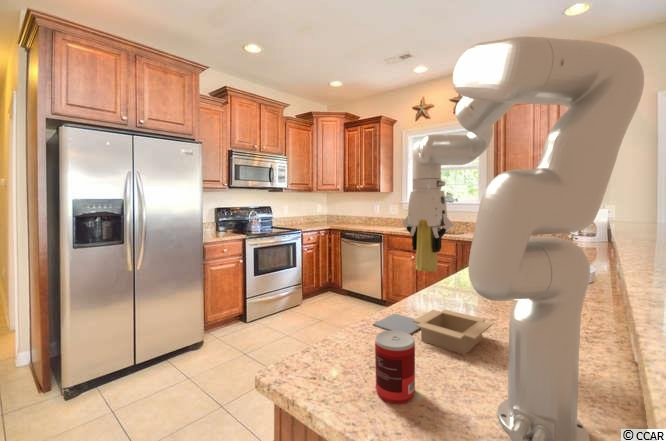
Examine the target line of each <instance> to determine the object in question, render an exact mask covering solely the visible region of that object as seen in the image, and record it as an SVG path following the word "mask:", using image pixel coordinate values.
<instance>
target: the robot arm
mask: <svg viewBox="0 0 666 441" xmlns="http://www.w3.org/2000/svg"><path fill="white" fill-rule="evenodd" d="M451 81H452V86H453V89H454V90H455V92H456V93H457V95H459V96H461V98H460V100H459V101H458V102H457V104H456V106H455V116H456V117H455V118H456V119H457V122H458V123H459V125H461V126H462V128H464V130H466V131H468V132H466V134H427V135H426V136H424V137H423V138H422V139H421V140H419V141H416V142H415V143H414V144H413V146H412V191H410V194H409V199H408V207H407V216H406V217H405V218H404V220H403V221H402V225H403V227H404V228H406V230H407V232H409V234H410V237H411V245H412V250H413V251H417V226H418V225H419V220H427V226H429V227H432V230H433V233H434V236H435V238H433V252H434V253H436V252H437V253H440V252H441V249H442V238H443V237H444V235H445V234H446V233H448V231H450V230H451V229H452V228H453V227H454V224H453V223H452V221H451V220H450V219H449V217H448V210H447V208H448V207H447V201H446V194H445V191H444V190H442V188H443V187H445V185H446V181H445V180H442V166H464V165H465V166H466V165H468V164H470V163H472V162H474V161H475V160H476V159H477V158H478V157H480V156H481V155H482V154H484V153H485V152H486V150H487V149H488V148H489V146H490V144H491V142H492V139H493V136H494V125H495V124H496V123H497V121H499V120H500V119H501V118H502V117H503V116H504V115H505V114H507V112H509V110H511V109H512V108H513V107H514V106H516V105H517V104H518V105H520V104H522V105H525V104H526V105H541V106H547V105H553V106H558V105H559V106H564V107H567V109H568V110H566V111H565V112H564V113H563V114H562V115H561V116H560V117H559V118H558V119H557V120H556V122H555V123H554V124H553V126H552V127H551V129H550V131H549V132H548V134H547V136H546V138H545V141H544V144H543V148H542V151H541V156H540V158H539V162H538V163H537V164H538V165H537V167H535V168H518V169H517V168H515V169H509V170H506V171H503V172H501V173H499V174H498V175H496V176H494V178H492V179H491V180H490V182H489V183H487V186H486V188H485V189H484V191H483V193H482V196H481V198H480V203H479V206H478V210H477V216H476V222H475V227H474V232H473V236H472V242H471V245H470V246H471V247H470V251H469V258H468V267H467V268H468V277H469V281H470V283H471V286H472V287H473V289H474V291H475V292H476V293H477V294H478V295H479V296H480V297H482V298H484V299H487V300H490V301H494V302H510V301H511V302H513V301H514V303H513V305H512V307H511V311H510V314H509V320H508V322H509V323H508V325H509V326H508V365H507V366H508V370H507V371H508V373H507V374H508V375H507V376H508V378H507V381H508V382H507V399H504V400H503V401H502V402H501V403H500V404H499V405H498V407H497V418H498V422H499V423H500V425H501V427H502V428H503V430H505V432H506V433H507V434H508V437H509V439H510V440H511V441H590V434H589V431H588V430H587V428H586V427H585V426H584V424H583V423H581V421H580V420H578V404H579V403H578V401H579V399H578V398H579V397H578V396H579V371H580V370H579V368H580V367H579V366H580V364H579V362H580V360H579V359H580V343H581V321H582V311H583V307H584V301H585V298H586V294H587V291H588V287H589V283H590V280H591V279H590V277H591V266H590V265H591V264H590V262H589V259H588V257H587V255H586V253H585V252H584V251H583V249H582V248H581V247H580V246H579V245H577V244H576V243H575V242H573V241H571V240H569V239H566V238H563V237H558V236H538V235H558V234H559V235H560V234H569V233H570V234H571V233H575V232H576V233H577V232H581V231H584V230H586V228H588V227H590V226H591V225H592V224H593V223H594V221H595V220H596V218H597V215H598V214H599V211H600V209H601V205H602V203H603V200H604V198H605V194H606V192H607V191H606V190H607V188H608V185H609V183H610V180H611V177H612V173H613V171H614V168H615V165H616V163H617V159H618V156H619V151H620V148H621V145H622V142H623V140H624V138H625V135H626V133H627V130H628V129H629V125H630V124H631V122H632V120H633V117H634V116H635V114H636V111H637V109H638V106H639V104H640V102H641V99H642V96H643V92H644V87H645V73H644V69H643V66H642V64H641V63H640V61H639V59H638V58H637V57H636V56H635V55H634V54H632V53H631V52H630V51H628V50H627V49H624V48H623V47H619V46H617V45H614V44H608V43H605V42H604V43H603V42H598V41H591V40H581V39H564V38H555V37H541V36H516V37H510V38H509V37H508V38H504V39H503V38H502V39H498V40H497V39H496V40H491V41H484V42H479V43H476V44H473V45H471V46H470V47H468V48H467V49H466V50H465V51H464V52H463V53H462V54H461V55H460V57H459V58H458V60H457V62H456V64H455V67H454V69H453V72H452V80H451ZM536 235H537V236H536Z"/></svg>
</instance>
